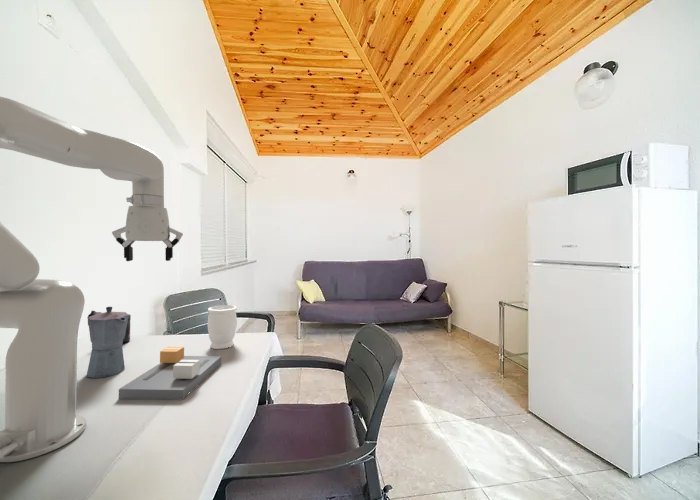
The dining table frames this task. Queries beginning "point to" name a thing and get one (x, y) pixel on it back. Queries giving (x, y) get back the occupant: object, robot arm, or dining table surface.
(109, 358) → the moka pot
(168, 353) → the orange fader
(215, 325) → the jar
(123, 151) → the robot arm
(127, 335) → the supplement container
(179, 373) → the block
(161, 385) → the console
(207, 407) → the dining table surface
